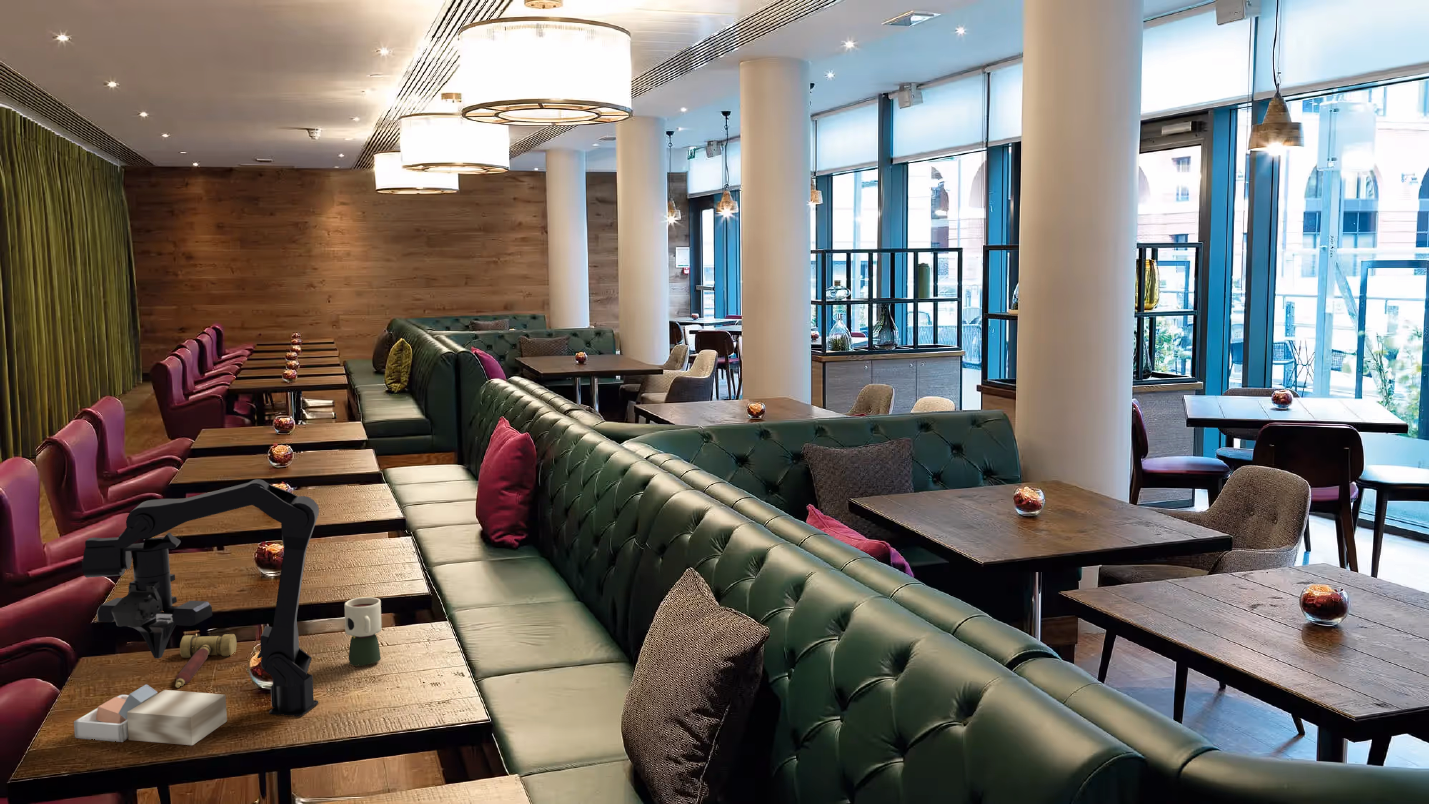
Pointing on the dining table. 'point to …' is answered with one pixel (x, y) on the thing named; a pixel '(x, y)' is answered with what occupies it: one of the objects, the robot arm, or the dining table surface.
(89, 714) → the box
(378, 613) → the character mug
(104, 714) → the terracotta tile
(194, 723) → the wooden square block
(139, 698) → the slate tile
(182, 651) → the gavel
